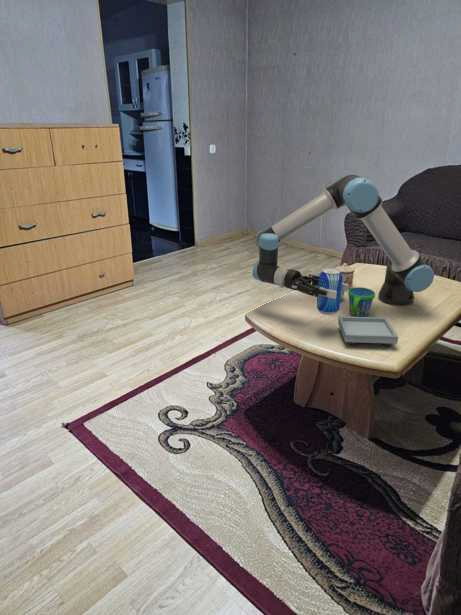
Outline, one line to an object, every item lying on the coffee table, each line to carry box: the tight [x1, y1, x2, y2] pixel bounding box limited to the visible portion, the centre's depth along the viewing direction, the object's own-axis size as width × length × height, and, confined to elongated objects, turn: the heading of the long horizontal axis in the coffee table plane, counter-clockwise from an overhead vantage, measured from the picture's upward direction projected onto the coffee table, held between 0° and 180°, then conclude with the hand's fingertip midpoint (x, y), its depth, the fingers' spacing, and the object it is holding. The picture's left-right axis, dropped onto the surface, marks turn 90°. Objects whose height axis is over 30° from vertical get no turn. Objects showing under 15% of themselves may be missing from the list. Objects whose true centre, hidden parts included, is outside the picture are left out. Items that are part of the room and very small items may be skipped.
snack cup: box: [347, 287, 376, 317], centre depth 180 cm, size 16×10×10 cm
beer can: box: [316, 267, 343, 316], centre depth 160 cm, size 8×8×16 cm
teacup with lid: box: [335, 262, 355, 290], centre depth 211 cm, size 12×9×12 cm
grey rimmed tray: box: [337, 315, 399, 348], centre depth 161 cm, size 18×16×5 cm
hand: (341, 291), depth 157 cm, fingers closed on beer can, 8 cm apart
